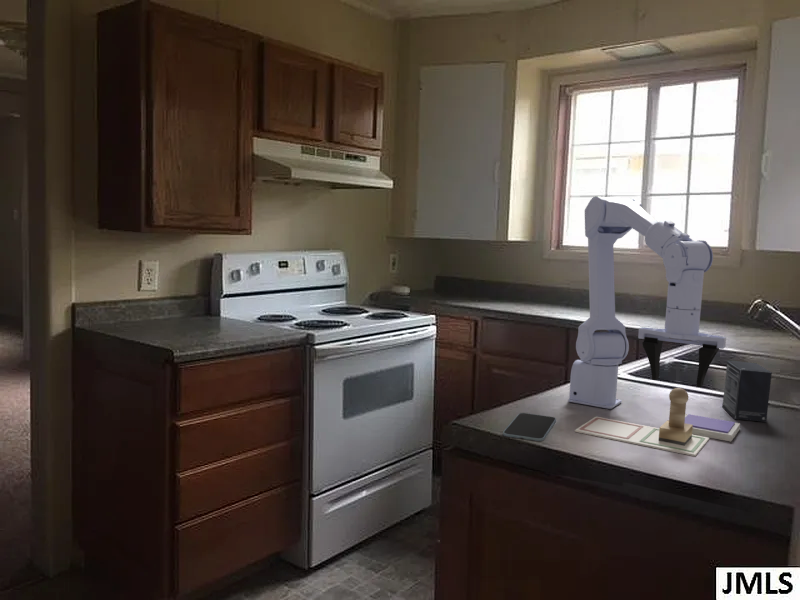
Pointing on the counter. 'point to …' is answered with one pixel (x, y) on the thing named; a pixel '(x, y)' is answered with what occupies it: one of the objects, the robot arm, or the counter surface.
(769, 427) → the counter surface
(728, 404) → the small box
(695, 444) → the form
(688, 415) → the ink pad
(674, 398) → the stamp
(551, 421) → the smartphone
